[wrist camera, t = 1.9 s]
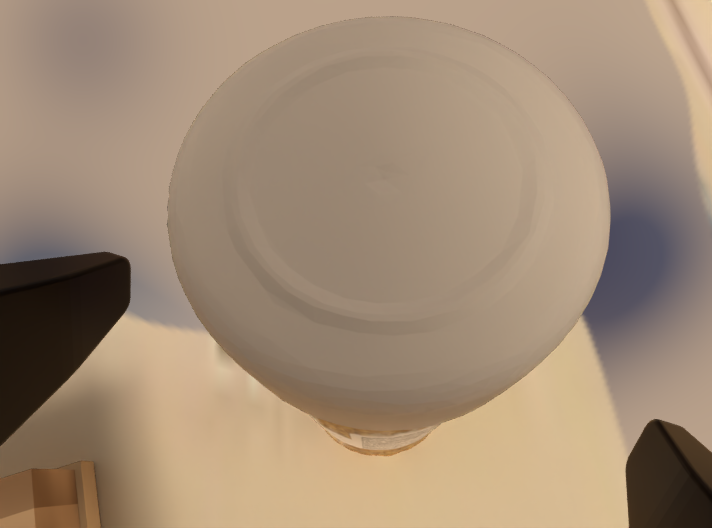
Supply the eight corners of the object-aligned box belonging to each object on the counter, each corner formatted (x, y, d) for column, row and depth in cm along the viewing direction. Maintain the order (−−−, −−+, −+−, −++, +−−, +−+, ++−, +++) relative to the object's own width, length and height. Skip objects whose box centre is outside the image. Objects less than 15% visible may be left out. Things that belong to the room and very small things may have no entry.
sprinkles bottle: (296, 341, 18) (125, 52, 6) (421, 304, 19) (514, -43, 6) (331, 478, 17) (196, 486, 4) (468, 435, 17) (726, 323, 4)
